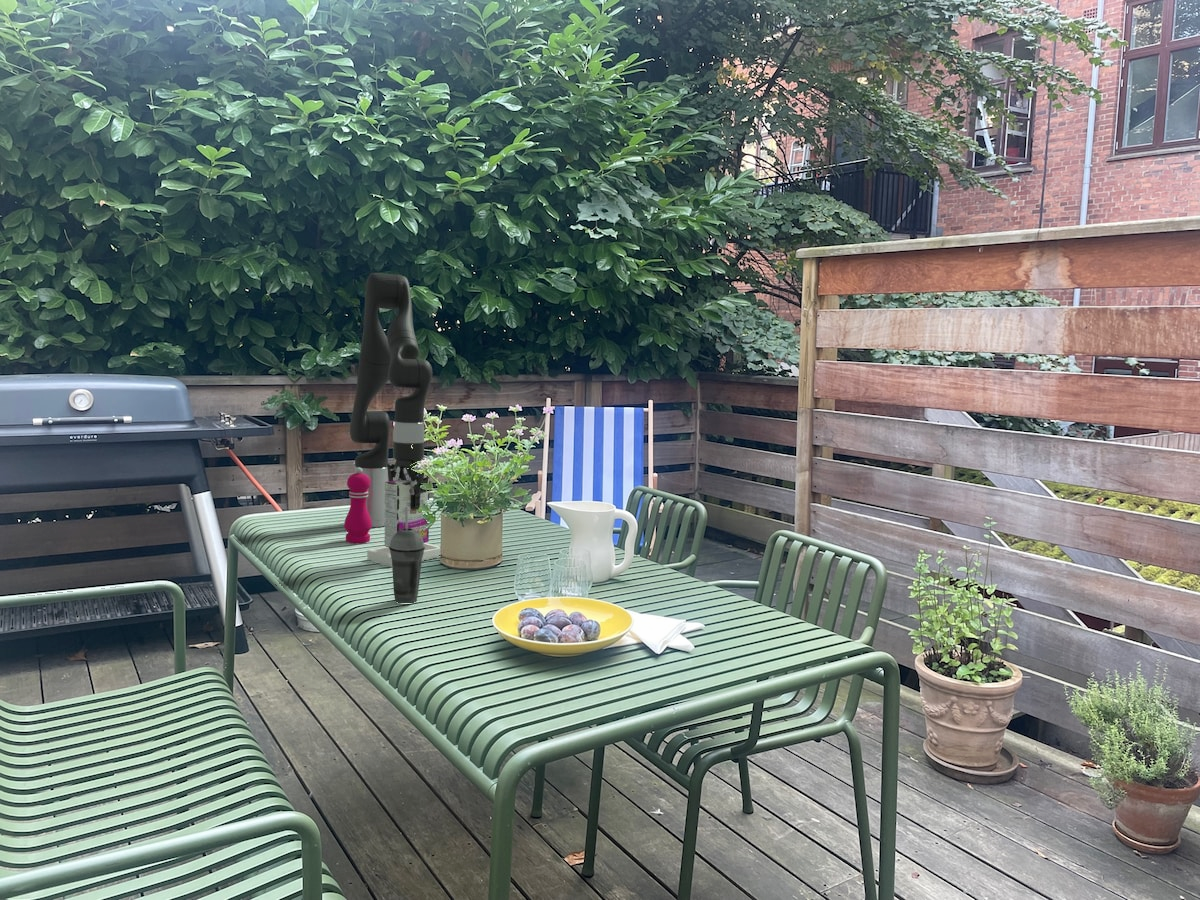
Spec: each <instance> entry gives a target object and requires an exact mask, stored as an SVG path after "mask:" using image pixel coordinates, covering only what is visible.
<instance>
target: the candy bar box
mask: <svg viewBox="0 0 1200 900" xmlns="http://www.w3.org/2000/svg"><path fill="white" fill-rule="evenodd" d="M394 480H395V479H394ZM394 480H393V481H389V480H388V481H387V482H385V526H384V547H390V543H391V540H392V537H393V536H394V535H395V534H396V533H397V532H398V531H399V530H402V529H405V507H408V528H409V529H413V530H415V531H417V532H418V533H419V534H420V535H421V537H422V539H423V542H424V543H429V537H430V535H429V530H430V526H429V527H428V528H426V527H425V525H426V524H427V521H426V520H425V519H424V518H423V513H422V509H421V508H422V505H423V503H427V502H425V501H427V500H429V501H430V490H429V491H426V492H425V493H421V494H420V507H419V509H416V510H412V509H411V495H412V494H411V486H410V485H409V482H407V481H406V480H395V481H394ZM428 480H429V481H430V478H429V479H428ZM412 482H417V481H416V480H415V481H412ZM414 488H415V489H416V485H414ZM423 529H424V530H423Z"/></svg>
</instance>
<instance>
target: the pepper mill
mask: <svg viewBox="0 0 1200 900" xmlns="http://www.w3.org/2000/svg"><path fill="white" fill-rule="evenodd" d="M346 485H347V487H348V489H349V490H350V491H348V494H349V495H348V497H349V498H350V505H349V506H350V507H349V510H348V513H347V514H346V516H345V519H344V524H343V527H344V530H345V531H346V532H347V533H346V534H345V542H346V543H348V542H349V544H356V543H358V544H365V543H366V542H367V543H369V542H370V541H371V534H370V533H369V532H370V530H372V528H373V527H372V521H371V518H370V515H369V513H368V510H367V506H366V499H367V497H368V491H367V489H368V488H369V487H370V479H369V477H368V476H367V475H365V474H363V473H362V468H360V467H358V468H357V469H356V473H355V472H354V473H353V474H351V475H350V476H349V477H348V478H347V481H346Z"/></svg>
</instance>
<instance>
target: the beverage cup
mask: <svg viewBox="0 0 1200 900" xmlns="http://www.w3.org/2000/svg"><path fill="white" fill-rule="evenodd" d="M389 549H390V554H391V558H392V567H391V568H392V569H391V570H392V583H393V594H394V602H395V601H396V602H398V603H414V602H416V601H417V602H418V597H419V596H418V595H419V588H420V579H421V571H422V563H423V561H422V558H423V554H424V549H425V547H424V542H423V539H422V537H421V535H420V534H419V533H418V532H417V531H415V530H413V529H409V528H408V507H405V529H402V530H399V531H398V532H397V533H396V534H395V535H394V536H393V537H392V540H391V543H390V547H389ZM417 602H416V603H417ZM414 604H415V603H414Z"/></svg>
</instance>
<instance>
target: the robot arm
mask: <svg viewBox="0 0 1200 900" xmlns="http://www.w3.org/2000/svg"><path fill="white" fill-rule="evenodd" d="M364 294H365V295H364V296H365V297H364V313H363V314H364V315H363V316H364V319H363V329H362V330H363V331H362V337H361V346H360V352H359V359H358V367H357V379H356V380H357V381H356V388H355V396H354V402H353V406H352V413H351V417H350V425H349V436H350V439H351V441H352V442H353V443H357V444H375V446H374V447H373V448H371V449H370V450H369V451H367V452H364V453H361V454H359V455H357V456H356V457H355V459H354V474H355V473H356V469H357V468H358V467H360V468H362V473H363V474H365V475H367V476H368V477H369V479H370V487H369V488H368V489H367V491H368V497H367V499H366V506H367V510H368V513H369V515H370V518H371V521H372V528H379V527H380V528H381V527H385V482H388V481H395V480H406V481H407V482H409V485H410V486H411V494H412V495H411V509H412V510H416V509H419V507H420V494H421V493H425V492H426V491H427V490H423V489H422V488H420V486H419V484H421V483H428V479H430V478H429V477H430V476H429V477H428V476H425V475H424V473H422V474H420V473H417V472H415V471H413V470H411V468H412V467H413V466H415V465H416V464H417V463H415V462H417V461H420V460H421V461H422V460H423V459H424V458H425V424H424V423H425V422H424V421H425V403H426V398H427V395H428V391H429V388H430V385H431V381H432V378H433V372H434V371H433V367H432V365H431V363H430V362H429V361H428V360H426V359H422V358H421V359H420V358H418V357H419V355H420V348H419V346H418V345H419V344H418V340H417V337H416V334H415V329H414V317H413V316H414V315H413V304H412V295H411V294H412V293H411V286H410V282H409V280H408V278H407V277H406V276H404V275H401V274H395V273H394V274H393V273H383V272H371V273H370V274H369V275H368V277H367V279H366V285H365V293H364ZM380 309H383V310H398V313H397V314H396V316H395V317H394V318H393V320H392V321H391V323H390V324H389V326H388V329H387V334H386V333H385V331H384V329H383V327H382V325H381V322H380V319H379V314H378V313H379V310H380ZM388 382H389V383H390V384H392V386H394V387H396V388H408V389H409V388H410V389H414V391H413V393H412V394H411V395H408V396H403V397H399V398H397V399H396V400H395V402H394V426H393V436H392V437H393V440H392V458H393V459H394V460H395V463H389V450H390V449H389V446H390V434H391V421H390V415H389V414H388V412H387V411H380V410H379V411H375V410H373V411H372V410H371V411H369V410H368V409H369V406H370V404H371V402H372V400H374V397H376V395H378V393H379V392H380V391H381V390H382V389H383V388H384V386H385V385H387V384H388ZM412 444H413V445H412ZM411 445H412V447H413V449H412V448H411ZM413 463H415V464H413ZM411 464H413V465H411ZM410 465H411V466H410ZM407 468H409V469H407ZM412 469H414V468H412ZM415 480H416V481H417V482H412V481H415ZM414 485H416V489H415V488H414Z"/></svg>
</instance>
